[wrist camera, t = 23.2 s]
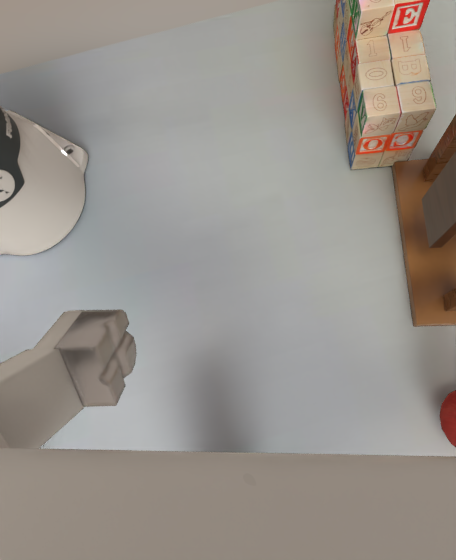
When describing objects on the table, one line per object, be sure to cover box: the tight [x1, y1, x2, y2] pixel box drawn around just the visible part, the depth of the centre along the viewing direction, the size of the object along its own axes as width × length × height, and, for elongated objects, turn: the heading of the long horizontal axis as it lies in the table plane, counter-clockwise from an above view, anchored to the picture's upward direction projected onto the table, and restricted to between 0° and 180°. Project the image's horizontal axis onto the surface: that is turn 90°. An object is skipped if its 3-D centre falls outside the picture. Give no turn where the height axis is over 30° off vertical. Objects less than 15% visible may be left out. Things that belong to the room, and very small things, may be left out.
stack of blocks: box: [333, 0, 436, 170], centre depth 41 cm, size 21×6×12 cm, turn 1°
